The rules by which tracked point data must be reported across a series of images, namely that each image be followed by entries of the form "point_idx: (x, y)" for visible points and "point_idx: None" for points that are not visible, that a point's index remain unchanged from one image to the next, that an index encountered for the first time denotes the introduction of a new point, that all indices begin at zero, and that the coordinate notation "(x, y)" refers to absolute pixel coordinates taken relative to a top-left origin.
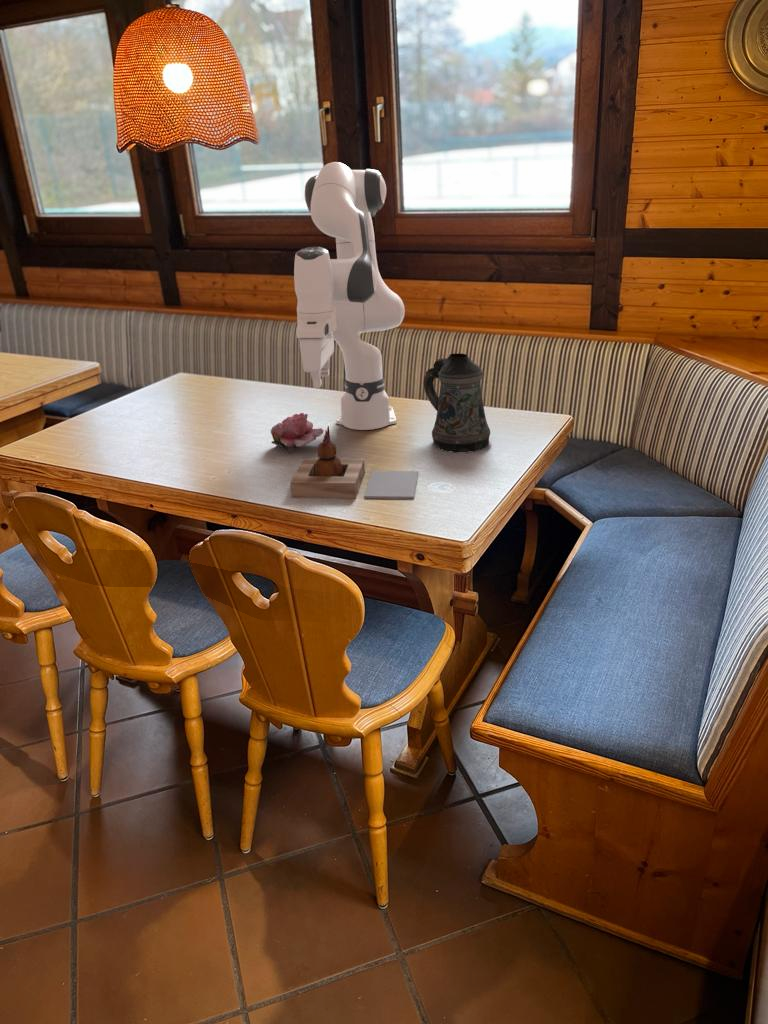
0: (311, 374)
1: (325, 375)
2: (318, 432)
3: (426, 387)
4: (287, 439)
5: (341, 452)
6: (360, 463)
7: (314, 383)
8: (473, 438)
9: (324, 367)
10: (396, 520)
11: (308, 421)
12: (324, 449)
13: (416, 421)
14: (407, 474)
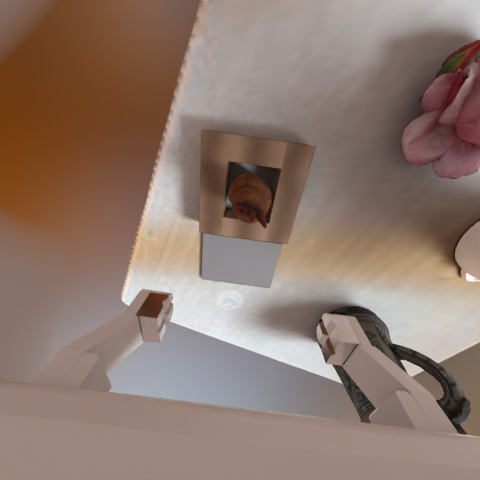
0: (64, 350)
1: (320, 329)
2: (444, 169)
3: (433, 371)
4: (445, 94)
5: (377, 202)
6: (269, 239)
7: (134, 305)
8: (320, 346)
9: (357, 362)
10: (150, 259)
11: None
12: (232, 204)
13: (452, 298)
14: (262, 278)
